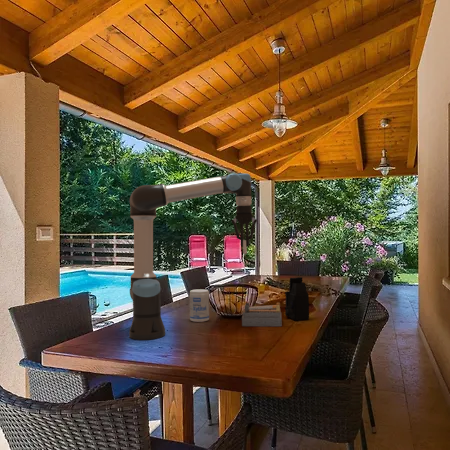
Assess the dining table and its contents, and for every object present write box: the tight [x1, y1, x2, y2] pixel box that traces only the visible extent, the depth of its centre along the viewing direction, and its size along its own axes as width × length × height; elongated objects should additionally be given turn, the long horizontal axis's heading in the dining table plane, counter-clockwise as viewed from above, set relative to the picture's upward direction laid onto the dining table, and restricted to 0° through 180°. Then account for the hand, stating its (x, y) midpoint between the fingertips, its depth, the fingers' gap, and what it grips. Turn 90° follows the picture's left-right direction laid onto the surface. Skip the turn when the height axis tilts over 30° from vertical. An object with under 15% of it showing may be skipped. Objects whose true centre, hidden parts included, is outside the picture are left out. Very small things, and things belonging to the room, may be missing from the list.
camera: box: [284, 277, 310, 322], centre depth 208 cm, size 10×14×20 cm
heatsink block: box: [241, 302, 283, 327], centre depth 199 cm, size 18×12×9 cm, turn 83°
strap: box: [248, 304, 276, 310], centre depth 199 cm, size 16×4×1 cm, turn 83°
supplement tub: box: [189, 288, 210, 323], centre depth 208 cm, size 10×10×15 cm
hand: (245, 253), depth 208 cm, fingers closed
